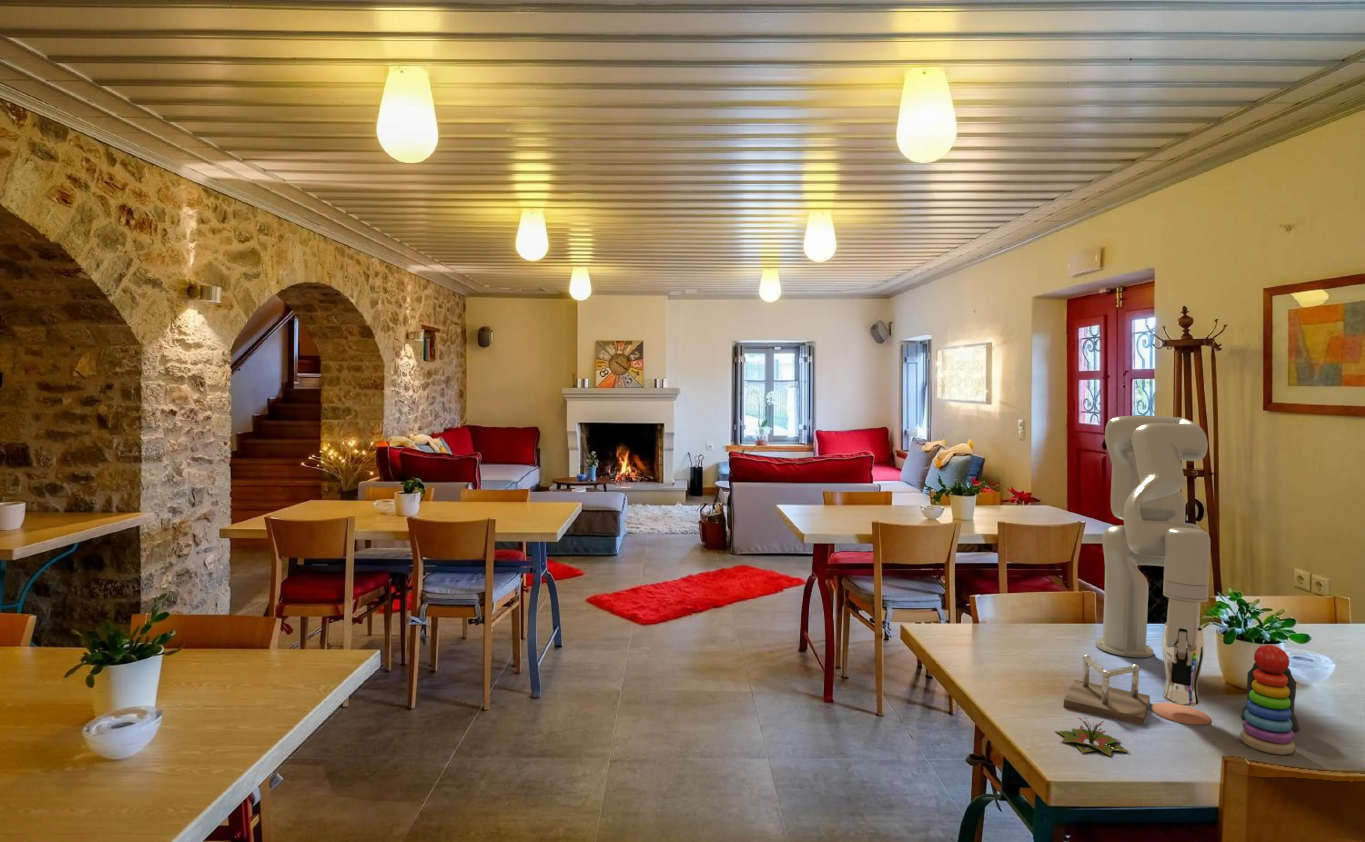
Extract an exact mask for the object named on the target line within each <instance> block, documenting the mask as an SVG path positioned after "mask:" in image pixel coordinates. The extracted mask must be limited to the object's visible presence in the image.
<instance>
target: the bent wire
mask: <svg viewBox="0 0 1365 842" xmlns="http://www.w3.org/2000/svg"><path fill="white" fill-rule="evenodd" d="M1082 661H1083V662H1082V663H1083V665H1082V667H1083V668H1082V681H1083V687H1086V688H1088V687H1089V683H1090V668H1093V669H1094V670H1095V671H1096V672H1097V673H1099V674H1100V675H1101V676H1102V678H1101V679H1102V680H1101V685H1102V701H1101V703H1102V704H1104V705H1108V697H1109V687H1110V678H1111V677H1116V676H1120V675H1121V676H1122V675H1126V674H1131V687H1130V688H1131V697H1133V698H1138V693H1139V682H1140V681H1139V678H1140V671H1141V667H1140V666H1139V665H1138V664H1132V665H1130V666H1125V667H1123V666H1122V667H1120V668H1118V667H1117V668H1114V669H1109V670H1106V669H1105V668H1104V667H1103V666H1101V665H1100V664H1098V662H1096V661H1095V660H1094V659H1092V658H1091V656H1090V655H1089V654H1084V655H1083V656H1082Z"/></svg>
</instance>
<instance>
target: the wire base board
mask: <svg viewBox="0 0 1365 842" xmlns="http://www.w3.org/2000/svg"><path fill="white" fill-rule="evenodd" d="M1150 699H1151V698H1150V695H1149V694H1144V693H1139V692H1138V698H1133V697H1131V691H1130V690H1125V689H1120V688H1116V687H1111V686H1109V697H1108V705H1104V704H1102V703H1101V701H1102V684H1098V683H1092V682H1089V687H1088V688H1086V687H1083V680H1080V679H1079V680H1078V679H1074V681H1073V682H1072V684H1071V686H1070V688H1069V689H1068V692H1067V693H1066V695H1065V697H1064V699H1063V707H1064V708H1067V709H1072V710H1076V711H1080V712H1084V713H1088V714H1093V713H1094V714H1093V715H1097V714H1099V715H1098V716H1101V715H1103V716H1102V717H1105V716H1107V717H1106V718H1110V717H1112V718H1111V719H1114V718H1117V719H1116V720H1118V719H1120V720H1119V721H1123V720H1124V722H1128V723H1131V724H1135V725H1141V726H1145V722H1146V718H1147V714H1148V710H1149V706H1150Z"/></svg>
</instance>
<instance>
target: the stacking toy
mask: <svg viewBox="0 0 1365 842" xmlns="http://www.w3.org/2000/svg"><path fill="white" fill-rule="evenodd" d="M1289 658H1290V657H1289V656H1288V654H1287V653H1286V651H1285V650H1283V648H1281V647H1279V646H1276V645H1271V644H1265V645H1261V646H1259V647H1258V648H1257V649H1256V650H1255V652H1254V654H1253V659H1254V663H1256V664H1257V666H1258V667H1259V669H1256V670H1255V671H1254V672H1253V676H1254V678H1255V679H1256V680H1254V681H1253V682H1252V688H1253V690H1251V691H1250V692H1249V698H1250V700H1248V701H1247V700H1246V703H1245V705H1246V707H1247V710H1246V711H1245V713H1244V717H1245V719H1246V720H1245V721H1244V720H1243V722H1242V728H1243V729H1242V730H1241V731H1240V735H1239V736H1240V739H1241V740H1242V742H1243V743H1244V745H1246V746H1248V747H1250V748H1252V749H1255V750H1257V751H1260V752H1263V753H1267V754H1272V755H1280V756H1281V755H1283V756H1284V755H1290V754H1292V753H1294V751H1295V750H1296V745H1295V743H1294V740H1295V736H1296V735H1295V733H1293V731H1292V730H1291V729H1292V722H1291V720H1290V717H1291V715H1292V714H1291V711H1290V709H1289V707H1290V705H1291V702H1290V699H1289V698H1288V696H1289V695H1290V690H1289V688H1288V687H1287V686H1286V684H1287V683H1288V678H1287V676H1286V675H1285V674H1283V673H1282V672H1284V671H1285V670H1287V668H1289V666H1290V659H1289Z"/></svg>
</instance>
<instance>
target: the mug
mask: <svg viewBox="0 0 1365 842" xmlns="http://www.w3.org/2000/svg"><path fill="white" fill-rule="evenodd" d="M1256 669H1259V667H1258V666H1257V664H1256V663H1255V662H1254V663H1253V665H1252V668H1251V669H1249V671H1248V672H1247V680H1246V688H1247V695H1246V696H1247V697H1246V702H1247V701H1248V700H1250V698H1249V692H1250V691H1251V690H1253V688H1252V682H1253V681H1254V680H1256V679H1255V678H1254V676H1253V672H1254V671H1255V670H1256ZM1282 673H1283V674H1285V675H1286V676H1287V678H1288V683H1287V684H1286V686H1287V687H1288V688H1289V690H1290V695H1289V696H1288V698H1289V699H1290V702H1291V705H1290V707H1289V709H1290V711H1291V714H1292V715H1291V717H1290V720H1291V722H1292V729H1291V730H1292V731H1293V733H1294V734H1295V733H1298V732H1299V731H1300V727H1299V723H1298V719H1297V717H1296V715H1295V701H1296V697H1297V693H1296V692H1297V681H1296V680H1295V678H1294V677H1293V675H1292V670H1291V669H1290V668H1289V667H1288V668H1287V670H1285V671H1284V672H1282ZM1246 710H1247V707H1246V704H1245V705H1244V707H1243V709H1242V711H1241V714H1240V718H1241V720H1242V721H1243V722H1244V721H1245V720H1246V719H1245V717H1244V713H1245V711H1246Z"/></svg>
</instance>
